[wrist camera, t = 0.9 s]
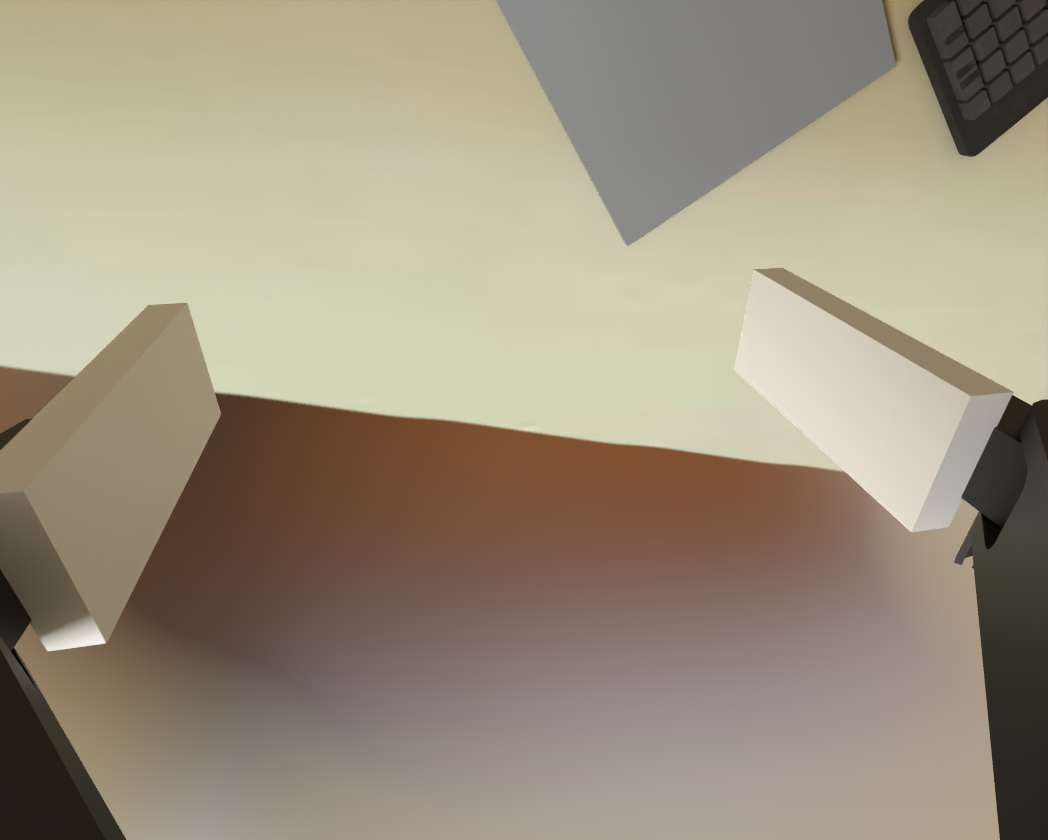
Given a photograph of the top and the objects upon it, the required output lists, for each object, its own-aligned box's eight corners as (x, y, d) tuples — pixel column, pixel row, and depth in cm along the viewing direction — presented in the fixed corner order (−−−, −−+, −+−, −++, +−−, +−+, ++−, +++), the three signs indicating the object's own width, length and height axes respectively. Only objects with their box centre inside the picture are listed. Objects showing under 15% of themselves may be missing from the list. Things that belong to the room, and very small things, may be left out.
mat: (479, -31, 33) (481, -33, 32) (811, -292, 30) (818, -298, 29) (625, 243, 42) (628, 245, 41) (889, 65, 39) (896, 65, 38)
